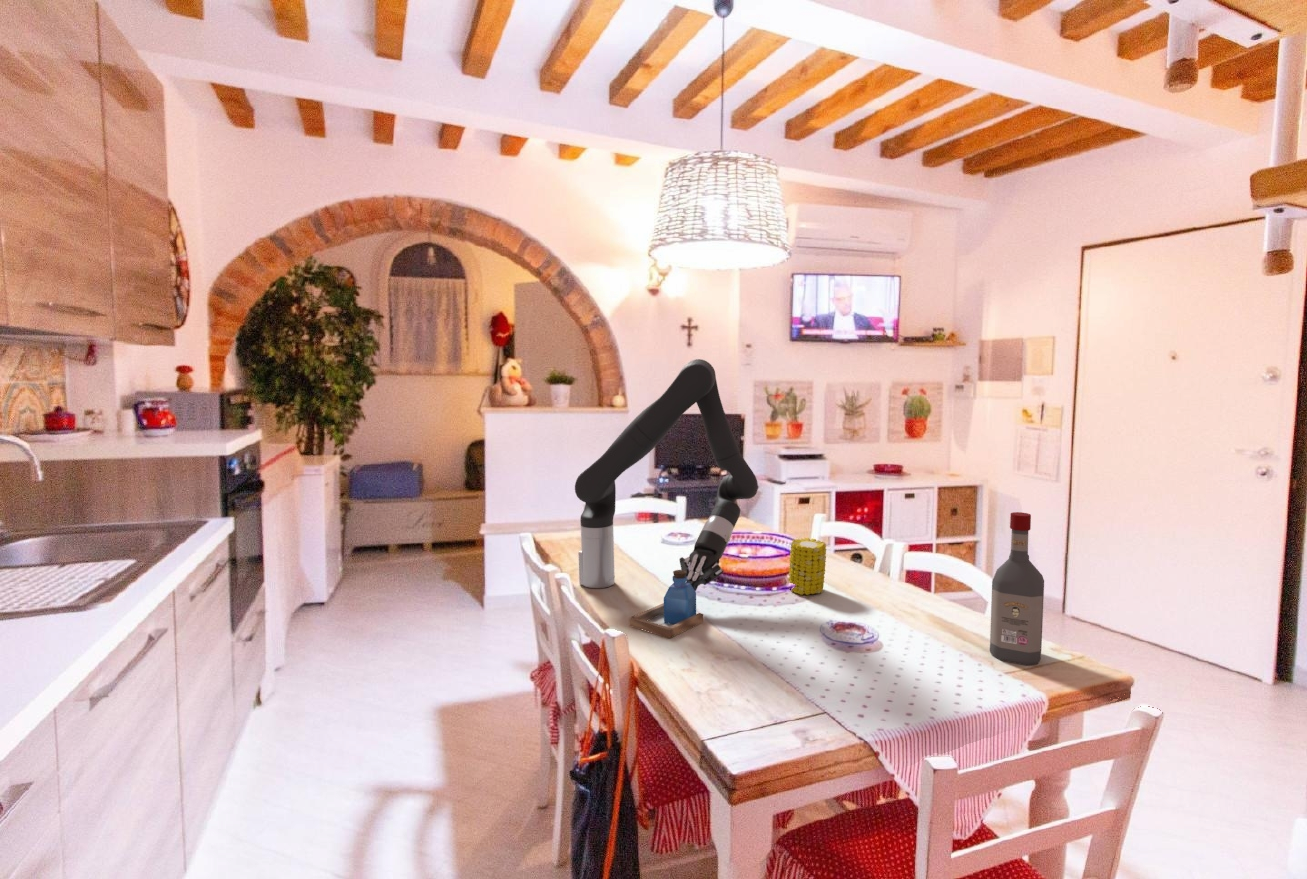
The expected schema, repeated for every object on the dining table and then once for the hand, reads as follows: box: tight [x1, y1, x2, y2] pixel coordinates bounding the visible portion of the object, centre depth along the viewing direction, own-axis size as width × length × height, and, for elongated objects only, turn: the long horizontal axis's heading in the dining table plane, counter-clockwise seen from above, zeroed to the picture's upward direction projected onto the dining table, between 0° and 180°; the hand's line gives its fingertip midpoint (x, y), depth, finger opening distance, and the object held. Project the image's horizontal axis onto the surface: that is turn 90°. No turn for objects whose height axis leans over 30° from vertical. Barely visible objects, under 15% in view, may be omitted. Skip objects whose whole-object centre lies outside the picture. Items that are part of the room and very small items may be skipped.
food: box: [787, 537, 827, 596], centre depth 184 cm, size 15×12×10 cm
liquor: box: [989, 511, 1045, 666], centre depth 140 cm, size 9×9×30 cm
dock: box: [628, 602, 704, 639], centre depth 163 cm, size 13×12×2 cm
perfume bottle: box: [663, 569, 697, 625], centre depth 165 cm, size 6×6×12 cm
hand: (686, 596), depth 168 cm, fingers closed
